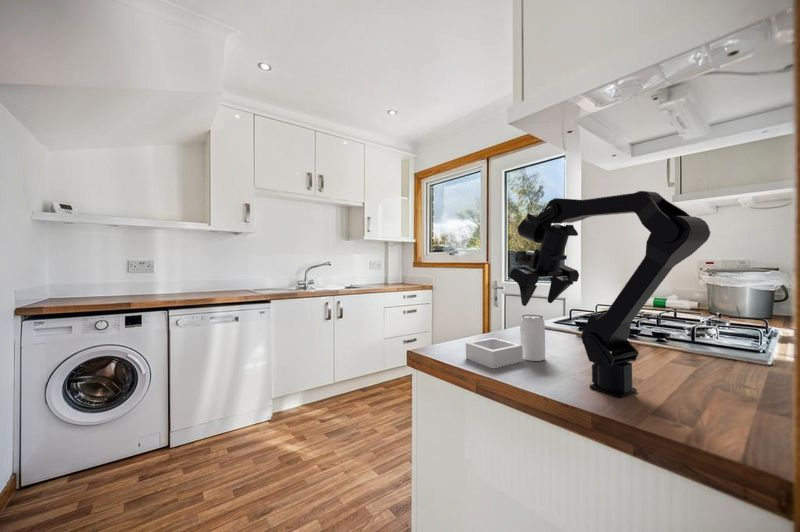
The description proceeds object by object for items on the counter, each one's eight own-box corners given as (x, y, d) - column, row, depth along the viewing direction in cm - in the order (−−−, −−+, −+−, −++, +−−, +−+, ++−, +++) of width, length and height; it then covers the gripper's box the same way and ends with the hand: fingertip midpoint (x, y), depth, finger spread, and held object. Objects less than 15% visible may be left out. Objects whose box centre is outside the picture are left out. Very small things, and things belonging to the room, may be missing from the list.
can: (521, 361, 92) (520, 318, 92) (520, 354, 98) (519, 314, 98) (546, 362, 90) (546, 318, 90) (543, 355, 96) (543, 314, 96)
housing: (522, 361, 92) (522, 345, 92) (493, 368, 86) (492, 351, 86) (494, 352, 101) (493, 337, 101) (466, 358, 96) (465, 342, 96)
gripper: (554, 239, 95) (540, 289, 100) (502, 239, 87) (490, 293, 92) (588, 251, 85) (570, 306, 91) (533, 253, 78) (517, 312, 83)
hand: (536, 303), depth 89 cm, fingers open, 9 cm apart
